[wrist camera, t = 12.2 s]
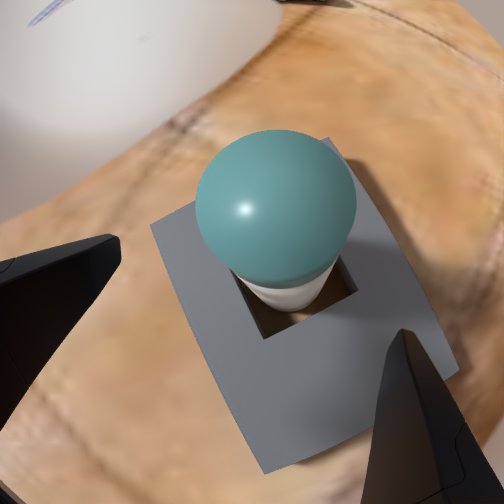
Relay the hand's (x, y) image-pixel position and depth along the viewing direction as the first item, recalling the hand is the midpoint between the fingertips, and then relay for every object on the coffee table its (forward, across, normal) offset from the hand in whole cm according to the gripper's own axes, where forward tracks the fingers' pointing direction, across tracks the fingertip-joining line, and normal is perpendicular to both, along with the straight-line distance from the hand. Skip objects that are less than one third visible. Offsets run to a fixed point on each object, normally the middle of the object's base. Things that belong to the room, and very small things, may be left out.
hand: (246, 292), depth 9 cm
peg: (+10, 0, +6) cm, 12 cm away
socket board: (+9, -2, +7) cm, 12 cm away
